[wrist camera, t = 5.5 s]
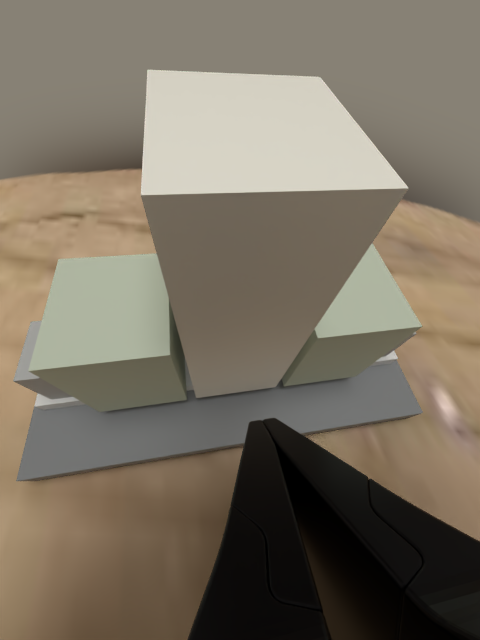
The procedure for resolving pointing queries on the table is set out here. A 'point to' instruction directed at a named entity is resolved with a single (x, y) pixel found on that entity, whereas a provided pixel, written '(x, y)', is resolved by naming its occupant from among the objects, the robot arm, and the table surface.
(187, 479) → the table surface
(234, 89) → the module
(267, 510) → the robot arm
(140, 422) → the rail board
